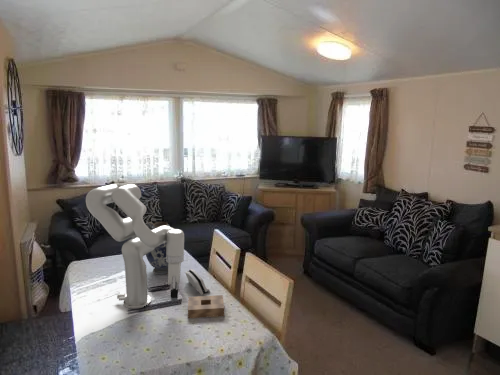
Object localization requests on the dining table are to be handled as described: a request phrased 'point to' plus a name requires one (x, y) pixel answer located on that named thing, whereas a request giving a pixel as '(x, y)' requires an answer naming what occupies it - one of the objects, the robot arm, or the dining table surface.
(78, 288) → the dining table surface
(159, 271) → the decorative vase
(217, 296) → the block with square hole
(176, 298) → the pin
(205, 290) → the grey half-round piece
